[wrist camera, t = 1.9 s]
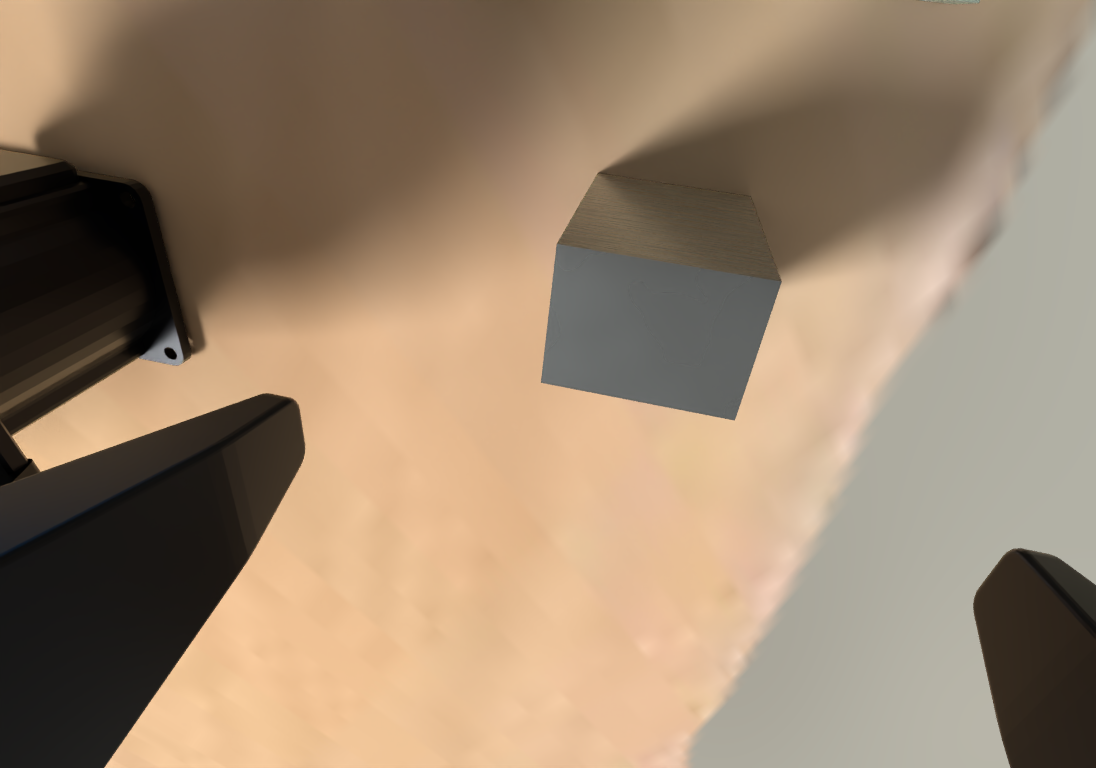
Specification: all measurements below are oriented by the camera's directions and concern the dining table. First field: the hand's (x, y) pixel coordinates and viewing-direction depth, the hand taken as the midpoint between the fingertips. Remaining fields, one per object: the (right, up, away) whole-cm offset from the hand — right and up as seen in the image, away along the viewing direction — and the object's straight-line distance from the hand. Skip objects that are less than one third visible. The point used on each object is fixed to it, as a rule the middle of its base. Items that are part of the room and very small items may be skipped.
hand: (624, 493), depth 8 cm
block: (+2, +5, +9) cm, 11 cm away
